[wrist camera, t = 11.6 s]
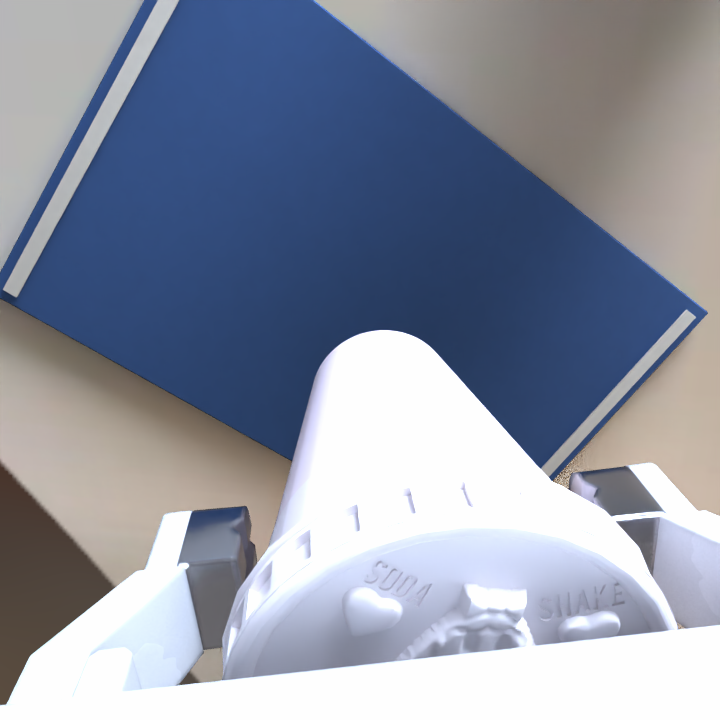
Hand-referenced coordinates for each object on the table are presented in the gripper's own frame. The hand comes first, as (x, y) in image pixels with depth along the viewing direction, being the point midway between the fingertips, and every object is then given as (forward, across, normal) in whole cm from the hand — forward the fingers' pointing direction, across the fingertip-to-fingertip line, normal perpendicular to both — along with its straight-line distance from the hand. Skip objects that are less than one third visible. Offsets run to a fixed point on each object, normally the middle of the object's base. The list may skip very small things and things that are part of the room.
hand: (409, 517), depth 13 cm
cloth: (+13, 0, 0) cm, 13 cm away
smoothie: (+6, 0, 0) cm, 6 cm away
